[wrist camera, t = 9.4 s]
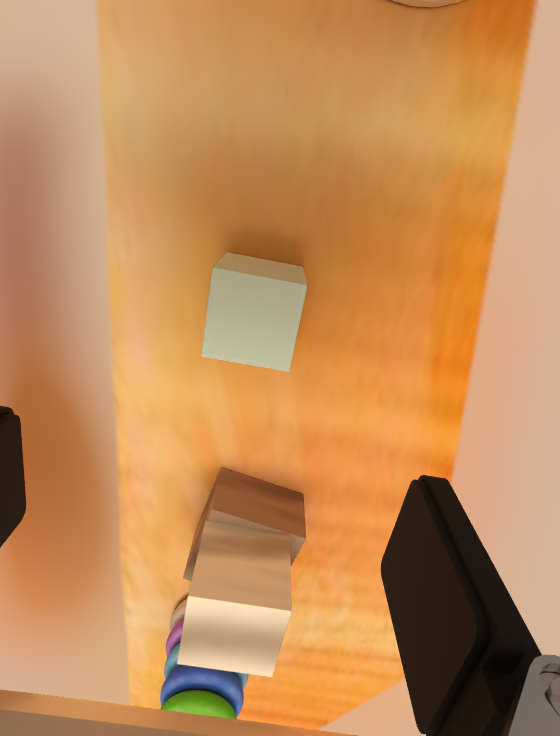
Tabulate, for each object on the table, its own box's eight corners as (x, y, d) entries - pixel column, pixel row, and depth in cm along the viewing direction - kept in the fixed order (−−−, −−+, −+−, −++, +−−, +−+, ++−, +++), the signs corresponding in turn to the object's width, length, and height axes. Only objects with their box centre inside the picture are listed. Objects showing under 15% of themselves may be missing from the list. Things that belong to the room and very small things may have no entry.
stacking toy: (273, 626, 41) (265, 947, 24) (206, 656, 43) (152, 975, 25) (224, 574, 38) (175, 890, 21) (155, 608, 40) (57, 926, 23)
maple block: (205, 520, 30) (188, 595, 24) (290, 534, 30) (291, 611, 25) (195, 582, 32) (177, 664, 27) (273, 594, 33) (271, 676, 27)
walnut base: (221, 465, 34) (212, 509, 30) (303, 492, 35) (305, 538, 30) (195, 529, 37) (182, 578, 32) (272, 552, 38) (270, 603, 33)
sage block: (226, 251, 28) (212, 267, 22) (303, 266, 28) (307, 285, 22) (217, 325, 30) (201, 356, 24) (288, 338, 30) (289, 372, 24)
